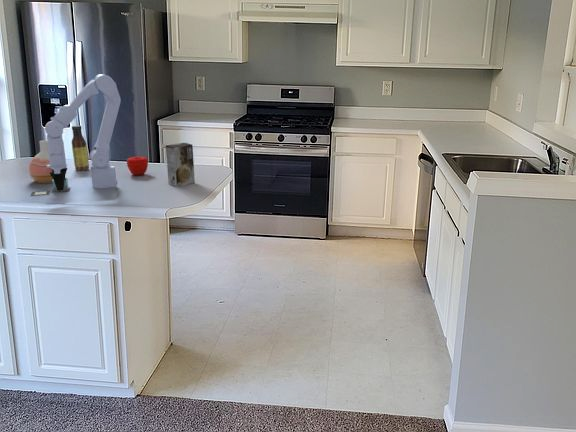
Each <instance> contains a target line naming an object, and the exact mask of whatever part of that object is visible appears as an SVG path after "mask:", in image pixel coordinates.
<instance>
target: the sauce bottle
mask: <svg viewBox="0 0 576 432" xmlns="http://www.w3.org/2000/svg"><path fill="white" fill-rule="evenodd" d="M82 128H83V127H82V125H73V126H71V129H72V136H73V137H72V139H71V150H72V156H73V165H74V167H75V168H74V169H75V171H79V172H81V171H87V170H89V169H90V161H89V154H88V147H87V142H86V140H85V138H84V136H83V132H82Z"/></svg>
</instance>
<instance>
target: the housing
mask: <svg viewBox="0 0 576 432" xmlns="http://www.w3.org/2000/svg"><path fill="white" fill-rule="evenodd" d="M51 184H52V189H53V191H54V192H56V193H62V192H61V191H68V188H69V182H68V177H65V178H64V189H63V190H57V188H56V185H55V182H54V180H53V181H52V183H51Z"/></svg>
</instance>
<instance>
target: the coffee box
mask: <svg viewBox="0 0 576 432" xmlns="http://www.w3.org/2000/svg"><path fill="white" fill-rule="evenodd" d="M193 149H194V148H193V144H191V143H188V142H180V143H172V144H166V145H165V151H166V165H167V166H166V167H167V181H168V182H167V183H168V185H170V186H174V187H182V186H186V185H190V184H195V183H196V180H195V166H194V164H195V163H194V151H193Z"/></svg>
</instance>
